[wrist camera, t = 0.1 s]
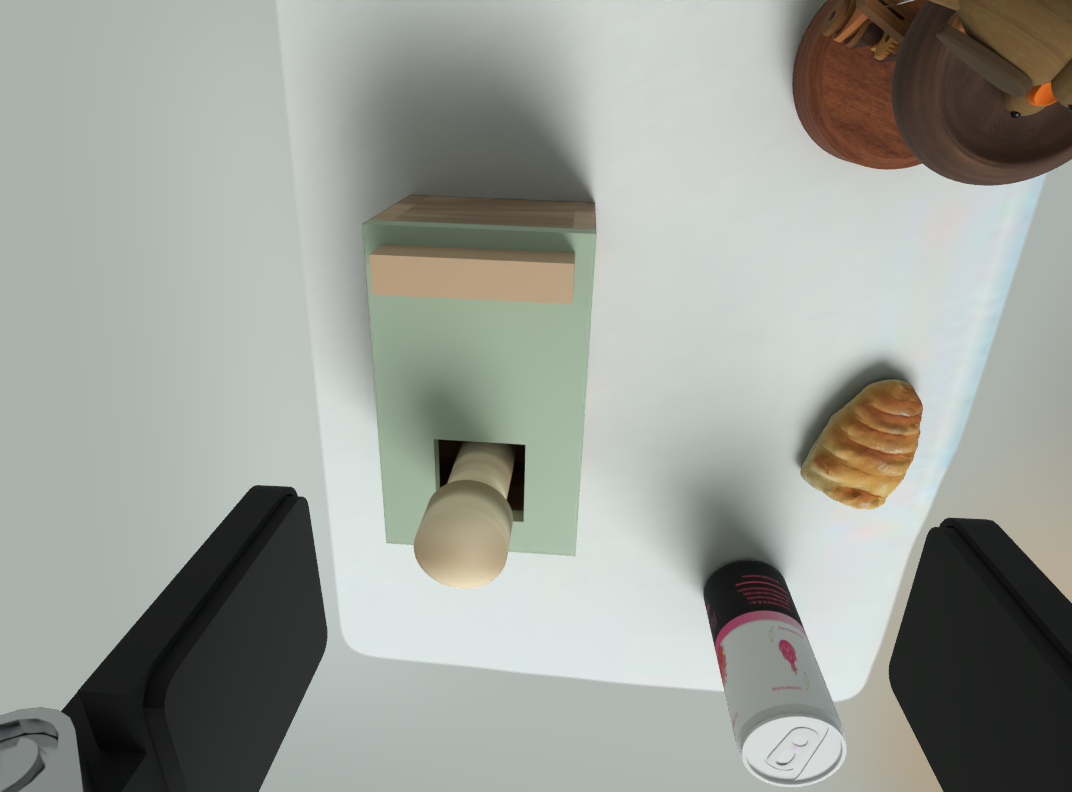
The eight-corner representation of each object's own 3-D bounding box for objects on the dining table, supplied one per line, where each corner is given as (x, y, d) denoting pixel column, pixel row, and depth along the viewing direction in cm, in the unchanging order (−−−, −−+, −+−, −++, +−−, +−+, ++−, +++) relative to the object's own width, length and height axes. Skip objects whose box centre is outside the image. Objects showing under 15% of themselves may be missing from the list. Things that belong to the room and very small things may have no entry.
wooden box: (410, 195, 44) (369, 219, 36) (595, 202, 44) (596, 229, 36) (422, 462, 53) (391, 531, 44) (577, 472, 52) (575, 544, 44)
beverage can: (688, 602, 56) (719, 766, 43) (729, 544, 54) (776, 699, 40) (757, 631, 57) (809, 801, 43) (801, 575, 54) (872, 738, 41)
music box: (735, 139, 42) (868, 127, 23) (807, -65, 38) (1036, -281, 19) (970, 208, 42) (1289, 253, 23) (1063, 14, 38) (1531, -119, 20)
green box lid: (369, 219, 36) (347, 233, 33) (596, 229, 36) (596, 244, 32) (391, 531, 44) (375, 567, 41) (575, 544, 44) (574, 581, 41)
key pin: (465, 382, 49) (411, 508, 34) (532, 385, 48) (507, 514, 34) (466, 441, 50) (415, 585, 36) (530, 445, 50) (506, 591, 36)
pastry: (848, 361, 47) (870, 383, 44) (939, 388, 48) (967, 411, 44) (790, 473, 51) (806, 501, 48) (874, 497, 51) (895, 526, 48)
